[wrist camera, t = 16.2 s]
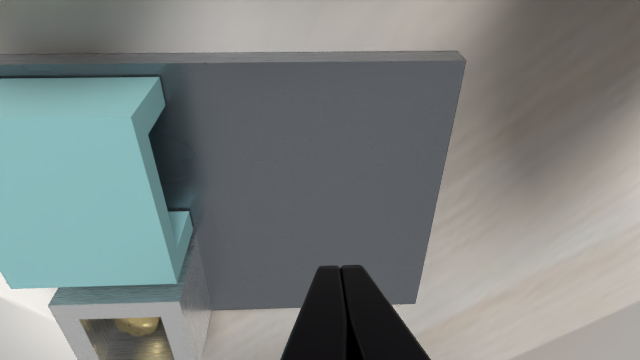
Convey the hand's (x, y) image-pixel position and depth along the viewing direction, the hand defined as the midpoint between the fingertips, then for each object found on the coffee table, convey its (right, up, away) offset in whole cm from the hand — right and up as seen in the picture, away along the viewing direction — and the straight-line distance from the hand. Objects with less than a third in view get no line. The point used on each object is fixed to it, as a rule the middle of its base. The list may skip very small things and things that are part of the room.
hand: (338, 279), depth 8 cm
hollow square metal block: (-10, -3, +15) cm, 18 cm away
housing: (-10, +3, +11) cm, 15 cm away
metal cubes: (-5, +1, +14) cm, 14 cm away
